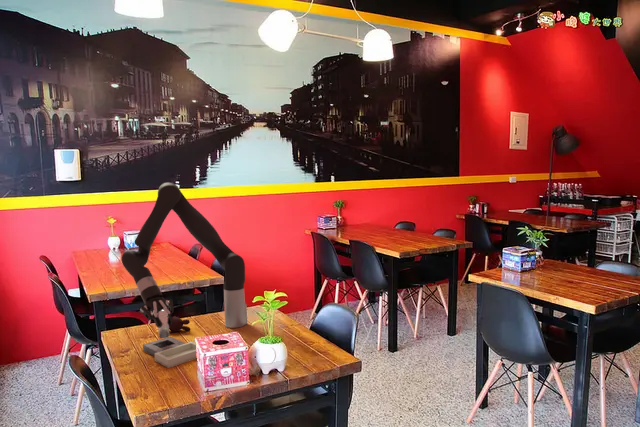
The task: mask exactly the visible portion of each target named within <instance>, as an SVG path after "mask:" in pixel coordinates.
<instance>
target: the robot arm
mask: <svg viewBox="0 0 640 427" xmlns="http://www.w3.org/2000/svg"><path fill="white" fill-rule="evenodd" d="M172 211H173V212H174V213H175V214H176V215H177V217H179V220H180V221H181V222H182V224H183V225H184V227H185V228H186V229H187V231H188V232H189V233H190V235H192V237H193V238H195V240H196V241H198V243H199V244H200V245H202V246H203V247H204V249H206V250H207V251H208V252H210V253H211V255H212V256H214V258H215V260H216V261H217V262H218V264H219V266H221V268H222V269H223V270H224V282H223V300H224V302H223V303H224V304H223V305H224V325H225V326H224V327H226V328H229V329H230V328H231V329H234V328H235V329H237V328H241V327H244V326H245V325H247V324H248V310H247V309H248V308H247V305H248V304H247V303H246V300H245V282H246V267H245V266H246V265H245V263H246V262H245V260H244V258H243V257H242V256H240V255H239V254H237V252H235V251H233V250H232V249H231V248H230V247H229V246H228V245H227V244H225V242H224V241H223V240H222V238H221V236H220V234H219V233H218V232H217V230H216V228H215V227H214V226H213V225H212V224H211V222H210V221H209V220H208V219H207V218H206V217H205V216H204V215H203V214H202V213H201V212H200V211H199V210H197V208H196V207H195V206H193V204H191V203H190V202H189V201H188V200H187V197H185V196H184V194H183V192H181V190H180V188H179V186H178V185H176V184H175V183H174V182H163V183H162V184H161V185H160V186H159V188H158V191H157V198H156V201H155V204H154V207H153V208H152V211H151V212H150V214H149V215H148V218H147V219H146V220H145V222H144V223H143V225H142V226H141V227H140V230H139V232H138V234H137V235H136V237H135V240H134V244H135V245H136V246H137V247H138V250H137V251H136V250H131V249H130V250H125V251H124V252H123V253H122V255H121V263H122V266H123V267H124V268H125V270H126V271H127V272H128V273H129V275H130V276H131V277H132V278H133V280H134V282H135V284H136V287H137V290H138V292H139V293H138V294H139V295H140V297H141V299H142V301H143V303H144V305H142V306H140V309H139V312H140V314H142V315H143V316H144V317H145V318H146V319H147V320H148V321H154V324H155V326H156V327H157V328H161V326H162V324H161V321H160V319H159V317H158V316H157V314H158V312H159V311H160V310H162V309H165V310H166V311H167V312H168V321H169V325H171V324H172V322H173V319H172V317H173V316H172V314H173V313H174V309H175V308H174V302H173V299H172V298H170V299H169V300H168V299H165V298H164V297H163V293H162V291H161V289H160V287H159V286H158V283H157V281H156V280H155V278H154V276H153V274H152V272H151V271H150V269H149V267H147V266H146V264H147V263H148V261H149V256H150V253H151V248H152V246H153V243H154V242H155V240H156V237H157V236H158V234H159V232H160V230H161V228H162V226H163V223H164V222H165V220H166V219H167V216H168V215H169V214H170V212H172Z"/></svg>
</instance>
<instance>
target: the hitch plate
mask: <svg viewBox="0 0 640 427" xmlns="http://www.w3.org/2000/svg"><path fill="white" fill-rule="evenodd" d="M186 343H187V342H184V341H181V340H179V339H177V338H175V337H173V336H169V337H166V338H160V339H157V340H154V341H151V342H147V343H144V344H142V351H143V352H144V353H147V354H149V355H151V356H152V357H154V358H155V354H154V353H157V352H160V351H163V350H167V349H170V348H173V347H176V346H179V345H182V344H186Z"/></svg>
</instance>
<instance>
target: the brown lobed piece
mask: <svg viewBox="0 0 640 427" xmlns="http://www.w3.org/2000/svg"><path fill="white" fill-rule="evenodd" d="M171 317H172V319H173V322H172V324H171V325H169V332H170V333H173V332H179V331H181V330H183V331H184V332H185V331H186V332H190V331H191V327H189V326H187V325H189V324H190V322H191V321H190V320H189V319H182V318H180V317H178V316H176V315H174V316H171Z"/></svg>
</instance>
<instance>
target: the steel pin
mask: <svg viewBox="0 0 640 427" xmlns="http://www.w3.org/2000/svg"><path fill="white" fill-rule="evenodd" d="M157 317H159V319H160V321H161V324H162V326H161V328H158V327H157V328H158V338H160V339H164V338H167V337H170V329H169V321H168V312H167V311H166V310H165V309H162V310H160V311H158V312H157Z"/></svg>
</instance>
